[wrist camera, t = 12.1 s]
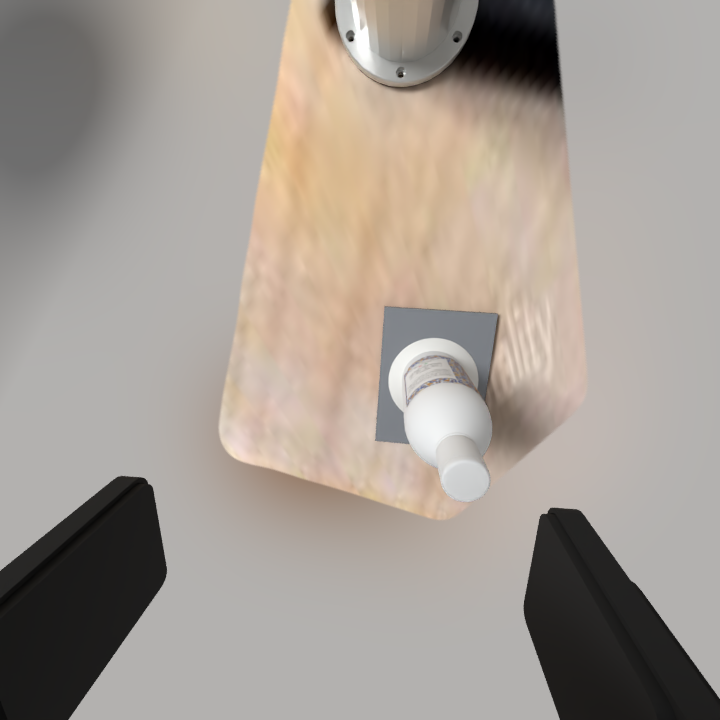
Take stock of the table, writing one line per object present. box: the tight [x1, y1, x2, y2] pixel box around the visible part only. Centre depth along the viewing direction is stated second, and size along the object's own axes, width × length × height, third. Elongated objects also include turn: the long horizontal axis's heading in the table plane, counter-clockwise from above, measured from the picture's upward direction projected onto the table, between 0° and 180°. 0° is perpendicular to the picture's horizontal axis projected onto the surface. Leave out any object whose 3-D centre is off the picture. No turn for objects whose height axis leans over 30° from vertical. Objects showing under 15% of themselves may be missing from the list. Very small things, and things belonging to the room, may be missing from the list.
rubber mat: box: [375, 306, 498, 444], centre depth 41 cm, size 16×12×1 cm
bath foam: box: [402, 351, 492, 502], centre depth 31 cm, size 7×7×20 cm
